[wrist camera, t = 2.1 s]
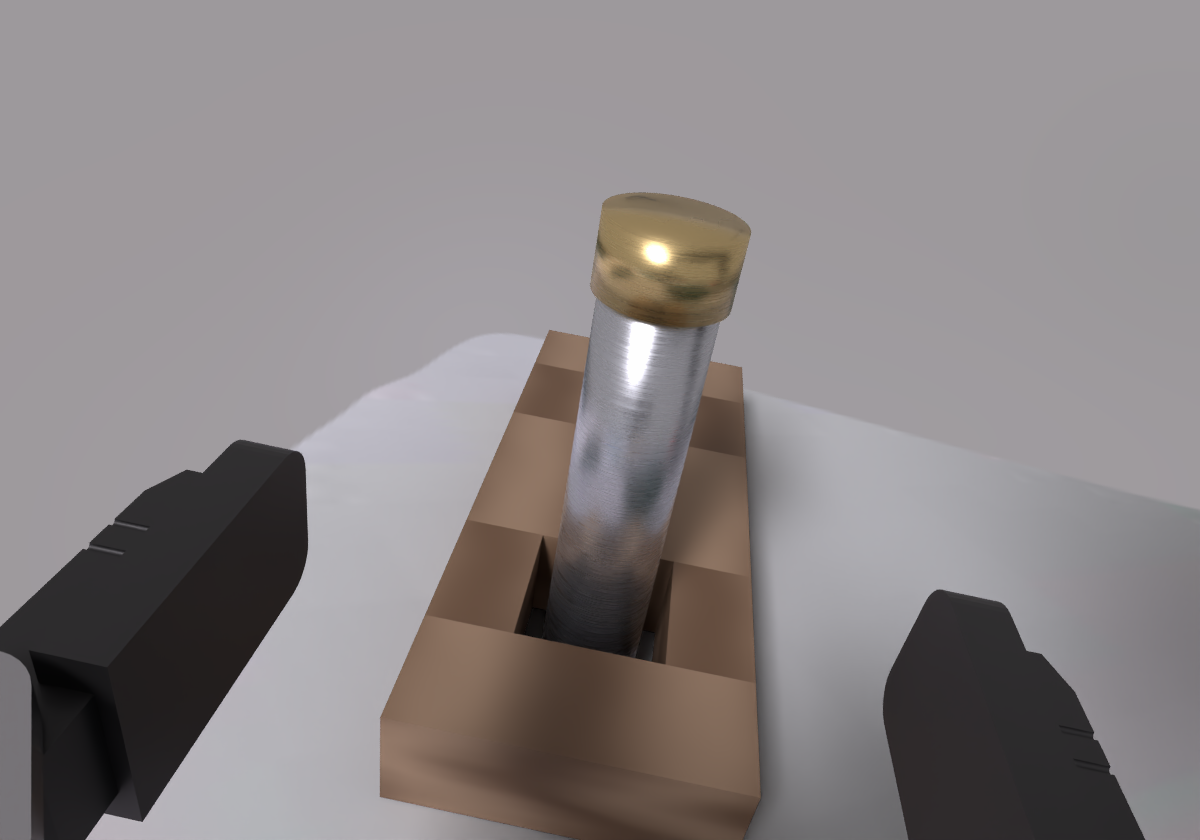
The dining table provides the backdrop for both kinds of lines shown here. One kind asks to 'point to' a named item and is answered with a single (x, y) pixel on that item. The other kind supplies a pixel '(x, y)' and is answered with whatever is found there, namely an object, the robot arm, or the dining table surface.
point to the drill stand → (580, 675)
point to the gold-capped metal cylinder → (638, 407)
